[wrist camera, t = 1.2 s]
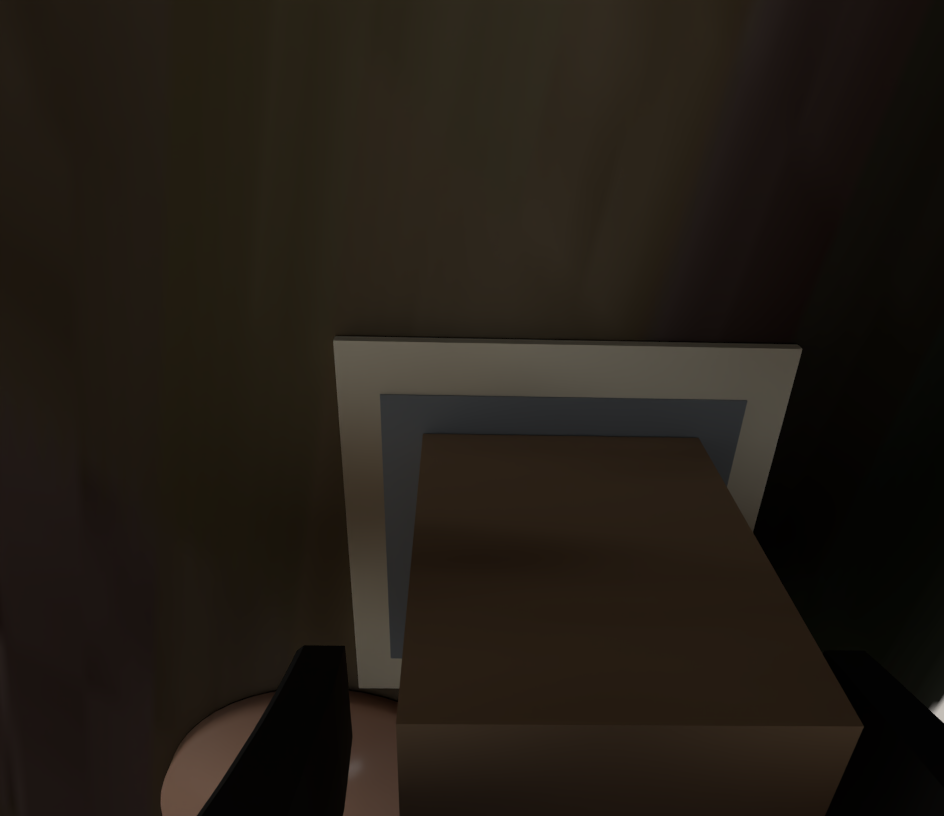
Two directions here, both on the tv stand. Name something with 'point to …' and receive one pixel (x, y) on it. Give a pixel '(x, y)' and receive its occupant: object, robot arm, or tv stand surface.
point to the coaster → (229, 728)
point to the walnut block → (604, 641)
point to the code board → (528, 431)
